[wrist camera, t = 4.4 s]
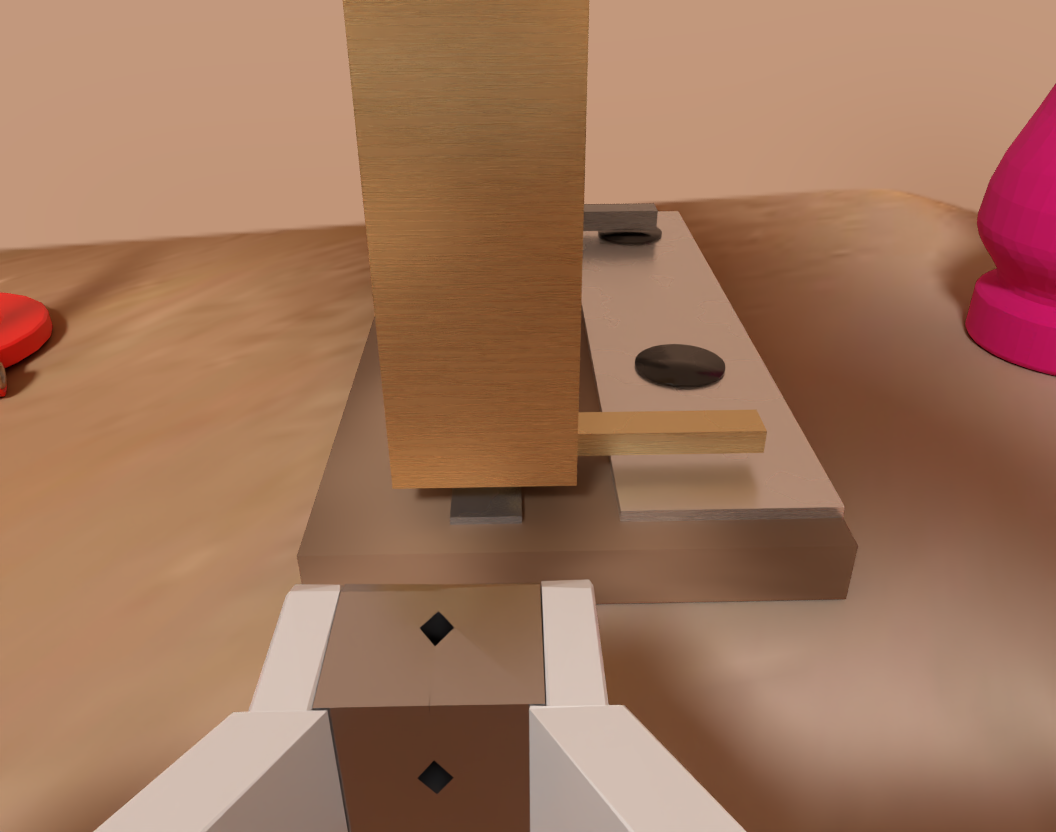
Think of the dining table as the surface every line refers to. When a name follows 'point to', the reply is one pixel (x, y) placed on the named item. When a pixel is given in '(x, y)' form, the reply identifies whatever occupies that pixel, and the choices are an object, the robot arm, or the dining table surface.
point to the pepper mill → (1020, 250)
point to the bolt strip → (677, 390)
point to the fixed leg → (620, 217)
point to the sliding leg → (488, 246)
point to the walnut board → (548, 529)
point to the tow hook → (20, 331)
